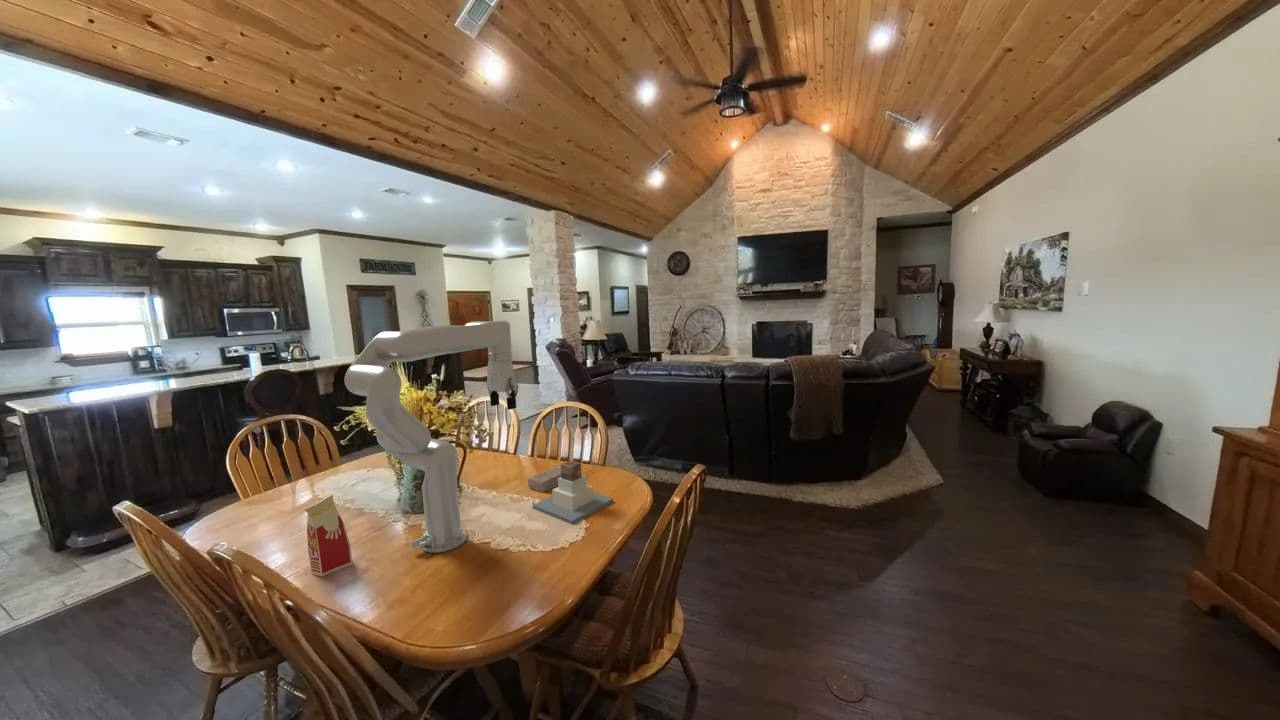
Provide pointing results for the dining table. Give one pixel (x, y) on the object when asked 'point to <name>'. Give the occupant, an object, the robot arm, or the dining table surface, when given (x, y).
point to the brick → (545, 479)
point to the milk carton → (327, 538)
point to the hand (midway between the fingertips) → (503, 407)
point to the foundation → (572, 504)
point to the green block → (572, 484)
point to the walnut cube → (571, 470)
